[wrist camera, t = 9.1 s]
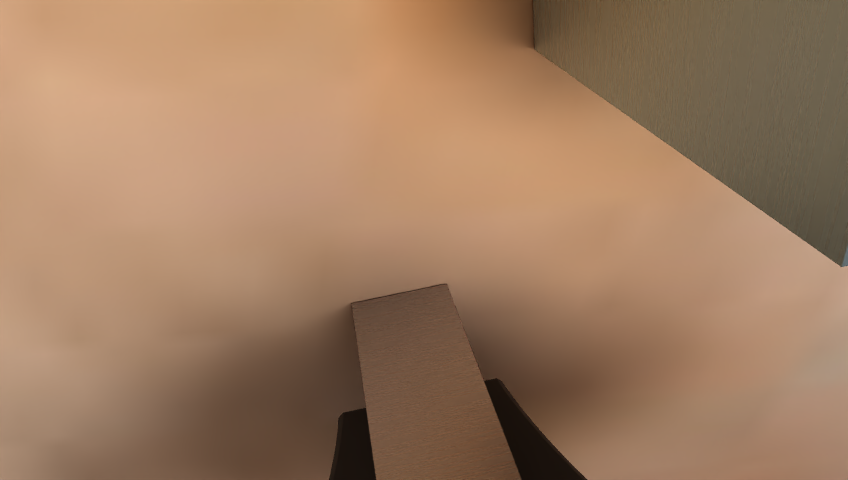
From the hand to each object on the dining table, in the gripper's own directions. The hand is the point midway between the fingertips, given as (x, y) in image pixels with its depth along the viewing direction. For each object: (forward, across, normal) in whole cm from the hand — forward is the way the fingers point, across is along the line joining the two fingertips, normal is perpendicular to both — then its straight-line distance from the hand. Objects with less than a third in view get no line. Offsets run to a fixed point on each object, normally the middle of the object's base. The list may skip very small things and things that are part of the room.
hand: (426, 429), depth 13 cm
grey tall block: (+1, 0, 0) cm, 1 cm away
